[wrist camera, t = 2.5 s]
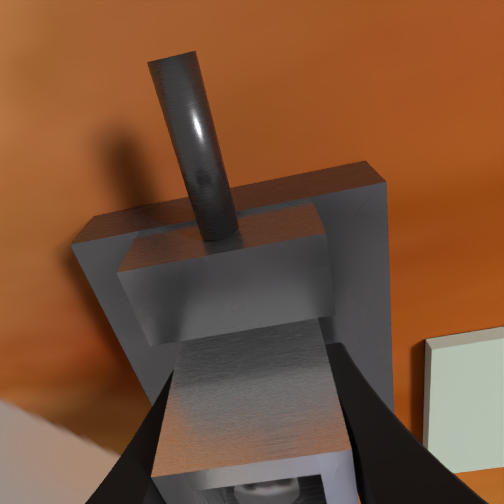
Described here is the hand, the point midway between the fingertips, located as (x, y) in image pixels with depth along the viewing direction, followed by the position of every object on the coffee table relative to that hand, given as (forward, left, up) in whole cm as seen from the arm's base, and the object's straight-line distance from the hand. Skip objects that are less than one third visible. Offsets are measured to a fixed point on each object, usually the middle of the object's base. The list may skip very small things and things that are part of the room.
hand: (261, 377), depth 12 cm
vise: (+2, 0, -3) cm, 4 cm away
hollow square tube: (-1, 0, -1) cm, 1 cm away
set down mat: (-7, -11, -3) cm, 13 cm away
